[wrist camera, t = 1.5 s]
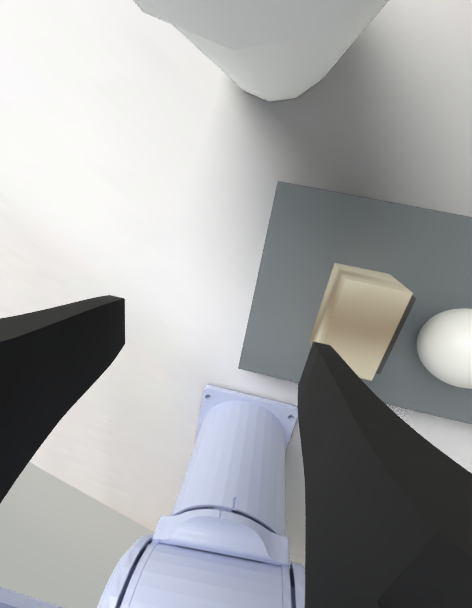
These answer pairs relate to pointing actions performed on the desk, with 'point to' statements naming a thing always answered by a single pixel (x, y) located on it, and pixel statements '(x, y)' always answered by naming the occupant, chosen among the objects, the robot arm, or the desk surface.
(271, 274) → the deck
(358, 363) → the cream rectangular block
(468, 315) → the ball
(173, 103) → the desk surface
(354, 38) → the foam cup
